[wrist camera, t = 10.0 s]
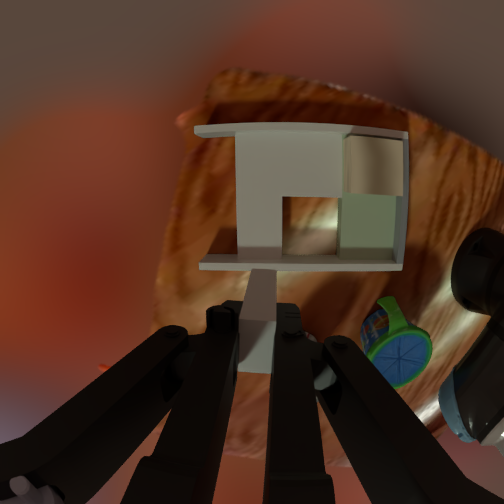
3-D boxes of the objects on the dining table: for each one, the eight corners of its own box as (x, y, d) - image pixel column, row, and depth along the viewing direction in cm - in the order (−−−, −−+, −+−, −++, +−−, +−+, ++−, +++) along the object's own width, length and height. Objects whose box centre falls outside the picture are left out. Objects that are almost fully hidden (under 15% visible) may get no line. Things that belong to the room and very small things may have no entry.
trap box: (395, 136, 35) (407, 132, 31) (390, 261, 40) (401, 270, 36) (202, 131, 38) (194, 126, 33) (207, 260, 43) (199, 269, 38)
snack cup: (404, 357, 44) (424, 391, 34) (350, 369, 46) (363, 407, 36) (409, 279, 41) (439, 305, 31) (349, 290, 42) (367, 321, 32)
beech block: (391, 144, 34) (402, 141, 30) (391, 194, 35) (402, 196, 31) (343, 139, 34) (350, 135, 30) (343, 191, 36) (351, 193, 32)
